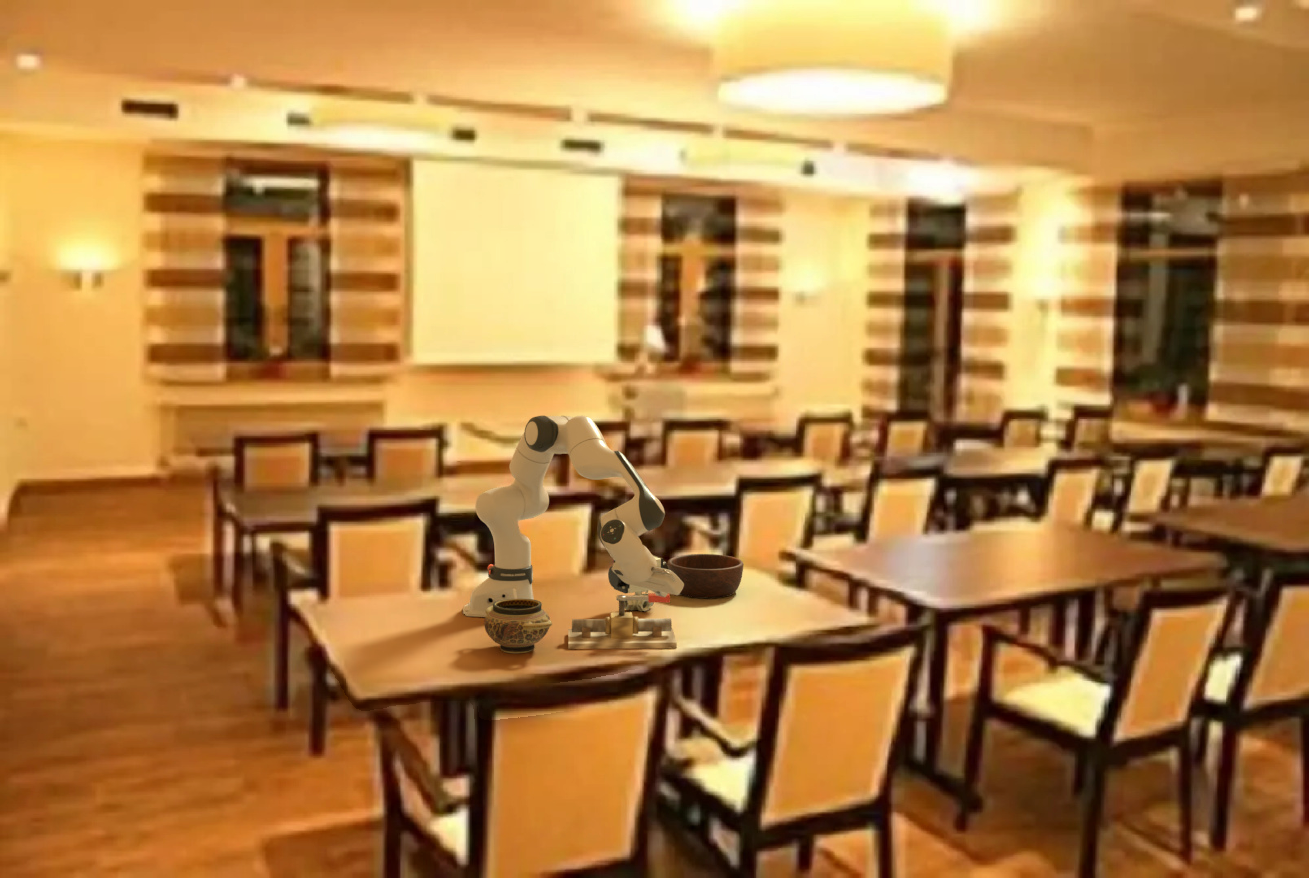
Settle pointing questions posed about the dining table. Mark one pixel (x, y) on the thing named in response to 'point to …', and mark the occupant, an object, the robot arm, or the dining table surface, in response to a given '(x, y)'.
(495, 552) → the robot arm
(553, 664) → the dining table surface
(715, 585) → the wooden bowl
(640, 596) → the valve lever
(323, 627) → the dining table surface
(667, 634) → the pipe board
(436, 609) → the dining table surface
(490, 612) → the ceramic bowl
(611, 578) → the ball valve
